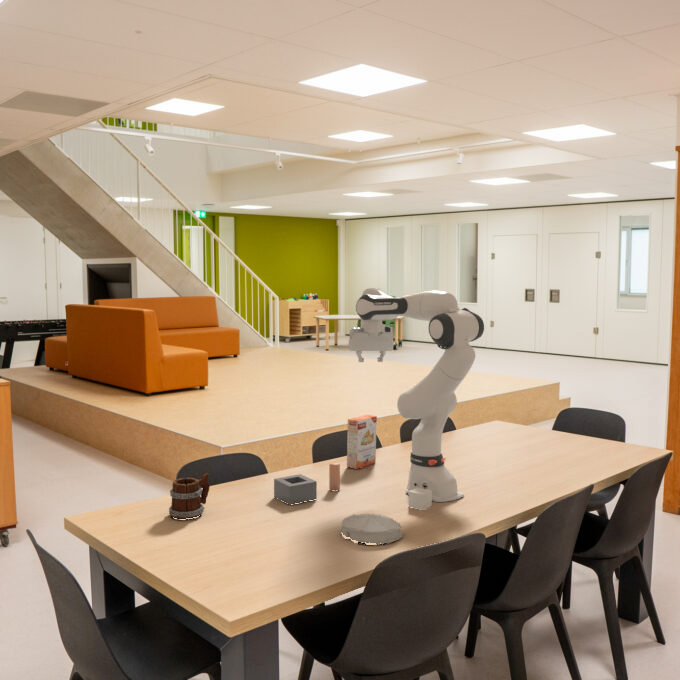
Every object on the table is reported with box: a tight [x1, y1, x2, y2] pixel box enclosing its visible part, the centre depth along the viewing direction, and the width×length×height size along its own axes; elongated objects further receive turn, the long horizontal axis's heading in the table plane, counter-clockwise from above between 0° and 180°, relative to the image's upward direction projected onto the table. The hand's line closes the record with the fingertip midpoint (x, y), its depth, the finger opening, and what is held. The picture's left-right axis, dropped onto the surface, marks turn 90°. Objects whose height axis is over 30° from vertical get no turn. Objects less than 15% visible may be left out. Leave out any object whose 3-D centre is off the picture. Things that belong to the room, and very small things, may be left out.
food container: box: [340, 513, 403, 545], centre depth 224 cm, size 20×20×7 cm
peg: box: [328, 462, 341, 491], centre depth 269 cm, size 4×4×10 cm
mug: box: [168, 472, 211, 519], centre depth 241 cm, size 12×14×15 cm
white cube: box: [408, 487, 433, 511], centre depth 250 cm, size 6×6×6 cm
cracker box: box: [346, 414, 378, 470], centre depth 303 cm, size 14×6×21 cm, turn 143°
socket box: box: [273, 473, 318, 506], centre depth 258 cm, size 11×11×7 cm
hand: (370, 362), depth 290 cm, fingers open, 8 cm apart
